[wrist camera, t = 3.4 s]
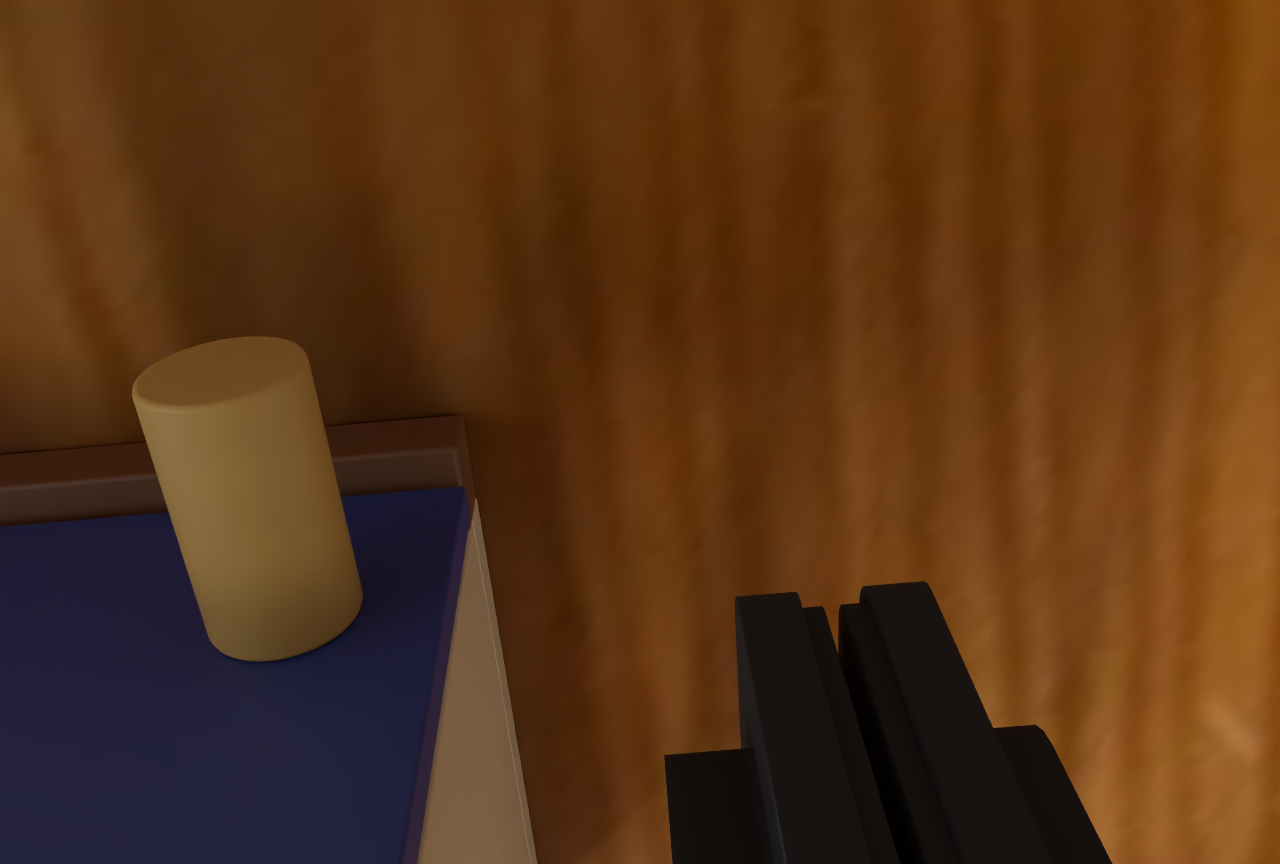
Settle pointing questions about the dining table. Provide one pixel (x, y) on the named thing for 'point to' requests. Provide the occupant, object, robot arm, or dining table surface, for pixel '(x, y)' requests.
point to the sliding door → (228, 642)
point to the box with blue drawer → (476, 678)
